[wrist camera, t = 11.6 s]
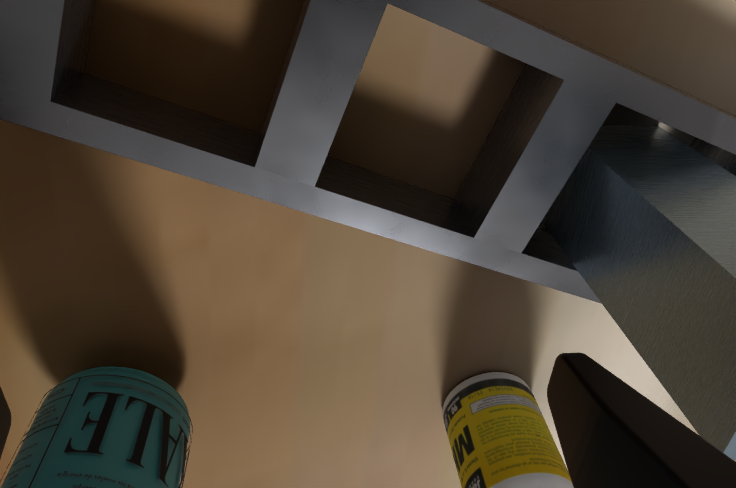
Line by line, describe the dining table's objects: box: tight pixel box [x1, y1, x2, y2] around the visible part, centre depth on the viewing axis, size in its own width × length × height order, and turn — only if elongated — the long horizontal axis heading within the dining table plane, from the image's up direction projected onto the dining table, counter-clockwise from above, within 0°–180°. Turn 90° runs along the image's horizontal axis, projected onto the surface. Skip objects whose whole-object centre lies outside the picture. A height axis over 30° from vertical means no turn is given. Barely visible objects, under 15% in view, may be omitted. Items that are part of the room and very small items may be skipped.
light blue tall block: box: [541, 125, 736, 460], centre depth 18 cm, size 4×4×12 cm
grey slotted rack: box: [0, 0, 736, 303], centre depth 19 cm, size 26×8×3 cm, turn 67°
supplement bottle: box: [443, 372, 574, 488], centre depth 26 cm, size 5×5×8 cm
